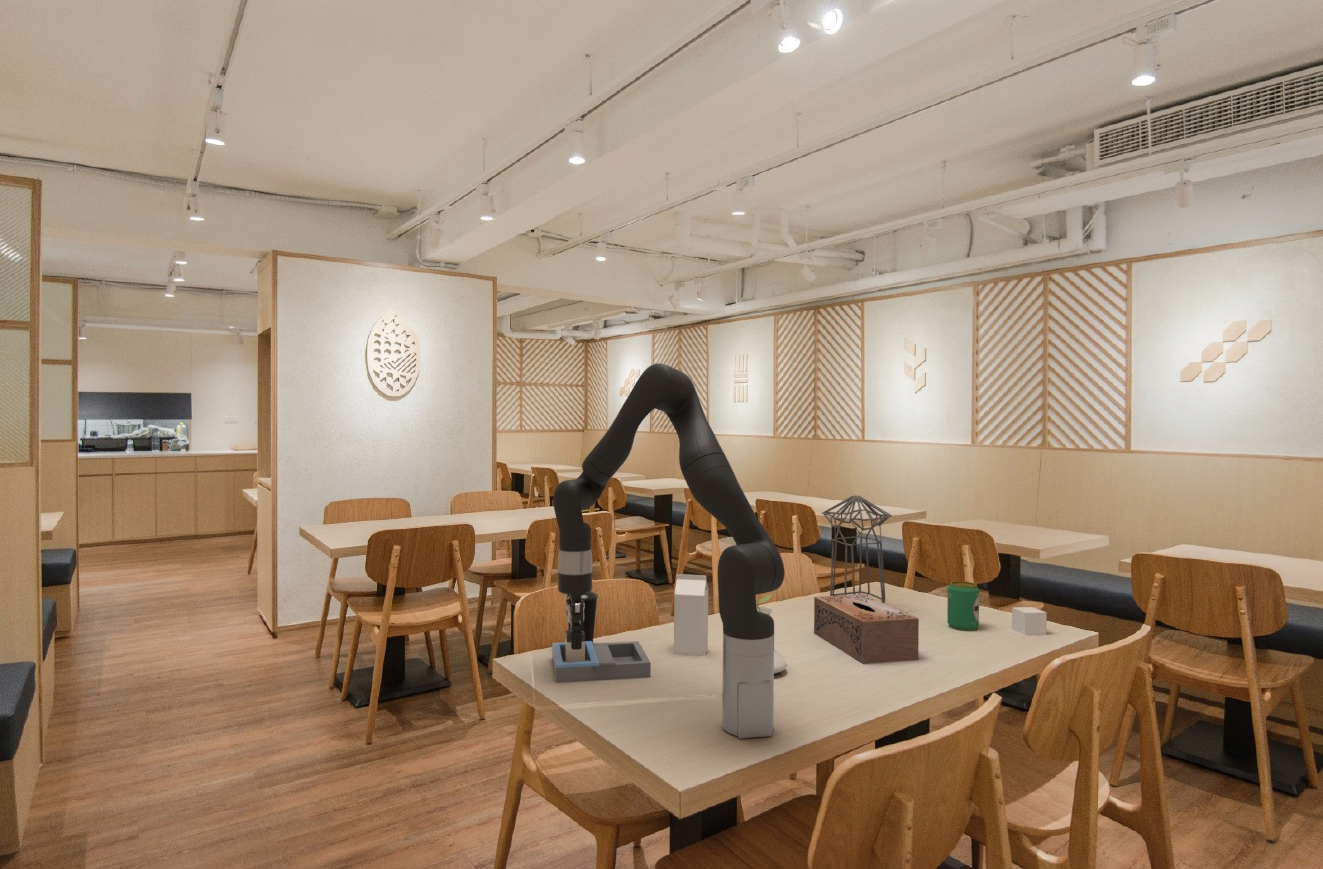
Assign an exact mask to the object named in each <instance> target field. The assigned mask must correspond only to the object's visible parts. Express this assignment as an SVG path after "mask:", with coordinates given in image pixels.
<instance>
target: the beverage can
mask: <svg viewBox="0 0 1323 869" xmlns="http://www.w3.org/2000/svg"><path fill="white" fill-rule="evenodd" d="M946 618H947V619H946V621H947V622H946V623H947V624H948V627H949V628H951V629H953V630H957V631H963V632H973V631H977V630H978V628H979V626H980V588H979V587H978V584H977V583H975V582H970V581H966V580H965V581H963V580H962V581H961V580H955V581H950V583H949V584H948V586H947V617H946Z"/></svg>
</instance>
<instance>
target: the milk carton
mask: <svg viewBox="0 0 1323 869" xmlns="http://www.w3.org/2000/svg"><path fill="white" fill-rule="evenodd" d="M675 581H676V582H675V588H674V593H673V598H674V599H673V600H674V601H673V602H674V604H673V607H674V608H673V610H674V611H673V613H674V614H673V616H674V617H673V654H677V655H692V656H694V655H695V656H704V655H706V654H707V651H708V650H709V643H708V642H709V587H708V581H707V575H702V574H700V575H699V574H684V573H683V574H682V573H681V574H679V573H677V574H676V580H675Z"/></svg>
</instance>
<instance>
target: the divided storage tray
mask: <svg viewBox="0 0 1323 869" xmlns="http://www.w3.org/2000/svg"><path fill="white" fill-rule="evenodd" d="M551 653H552V664H553V672H554V679H555V683H557V684H558V683H572V682H573V683H574V682H575V683H576V682H587V681H590V682H591V681H602V680H603V681H605V680H621V679H622V680H623V679H637V678H638V679H639V678H640V679H641V678H651V666H652V665H651V661H650V659H649V658H648V656H647V653H646V652H645V650H644V649H643V646H642V645H641V643H640V642H639V640H638V641H636V640H635V641H617V642H600V643H599V642H597V643H594V642H593V644H592V641H585V661H582V662H565V641H564V642H552V652H551Z"/></svg>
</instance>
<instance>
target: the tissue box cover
mask: <svg viewBox="0 0 1323 869" xmlns="http://www.w3.org/2000/svg"><path fill="white" fill-rule="evenodd" d="M813 599H814V600H813V603H814V604H813V606H814V608H813V615H814V616H813V618H814V620H813V628H814V629H813V633H814V635H816V636H817V637H819V638H821V639H822V640H823V641H825V642H827V643H828V644H829V645H831V646H833V647H835V648H836V649H838V650H840V651H841V650H842V651H841V652H843V653H844V654H846V655H848V656H849V657H851V658H852V659H854V660H856V661H857V662H859V663H860V664H862V665H868V664H882V663H892V662H893V663H894V662H907V661H919V635H920V634H919V631H920V630H919V623H920V622H919V621H920V618H918V617H916V616H913V615H912V614H909V613H907V612H905V611H902V610H900V609H899V608H896V607H893V606H891V605H889V604H887V603H886V602H885V603H882V601H880V600H877V598H876V599H875V598H874V597H871V596H869V595H868V596H867V594H863V593H860V595H859V594H855V595H853V594H847V595H837V596H830V595H824V596H814V597H813Z"/></svg>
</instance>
